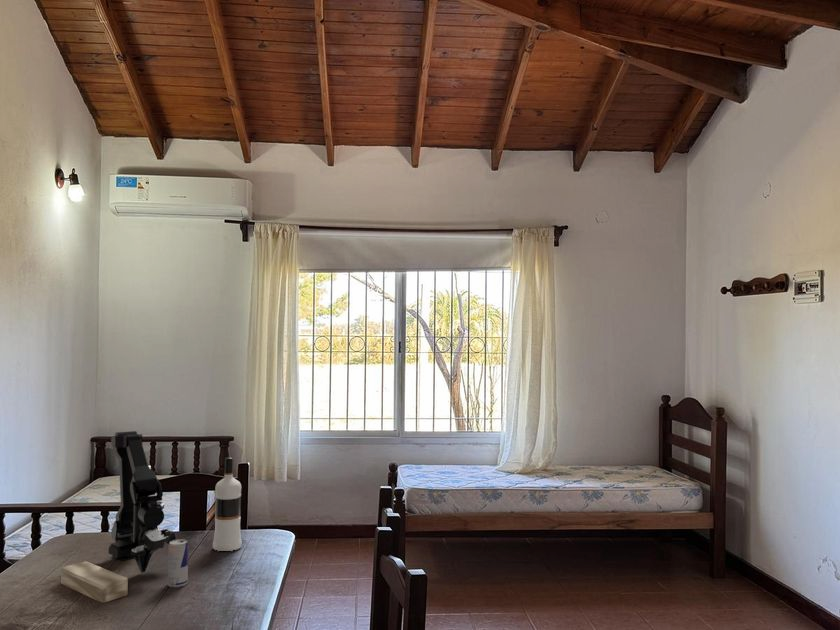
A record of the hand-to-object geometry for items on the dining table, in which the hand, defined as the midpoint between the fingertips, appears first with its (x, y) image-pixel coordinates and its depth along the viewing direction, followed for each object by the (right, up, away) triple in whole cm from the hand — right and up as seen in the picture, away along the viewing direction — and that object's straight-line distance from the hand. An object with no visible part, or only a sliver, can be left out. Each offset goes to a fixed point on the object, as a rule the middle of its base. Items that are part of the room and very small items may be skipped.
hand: (142, 572), depth 202 cm
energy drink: (+13, -1, -8) cm, 15 cm away
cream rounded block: (-9, 0, -12) cm, 15 cm away
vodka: (+18, -2, +25) cm, 31 cm away
